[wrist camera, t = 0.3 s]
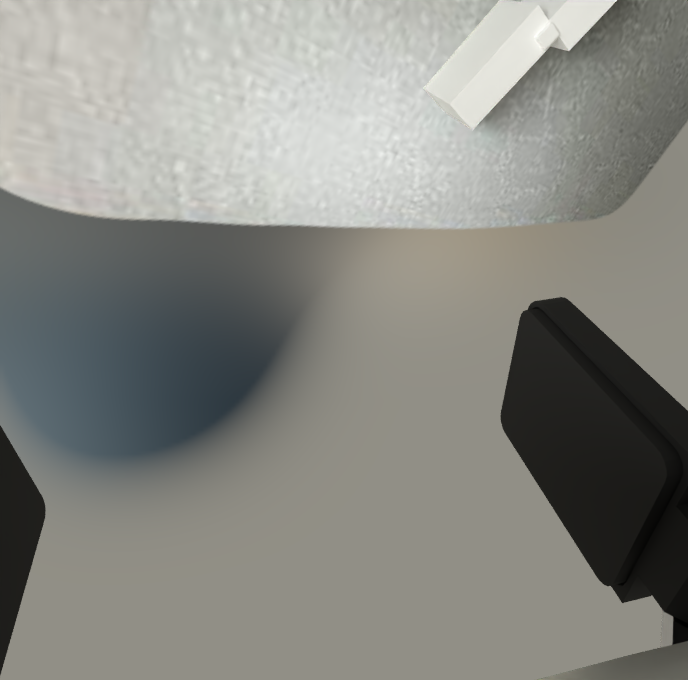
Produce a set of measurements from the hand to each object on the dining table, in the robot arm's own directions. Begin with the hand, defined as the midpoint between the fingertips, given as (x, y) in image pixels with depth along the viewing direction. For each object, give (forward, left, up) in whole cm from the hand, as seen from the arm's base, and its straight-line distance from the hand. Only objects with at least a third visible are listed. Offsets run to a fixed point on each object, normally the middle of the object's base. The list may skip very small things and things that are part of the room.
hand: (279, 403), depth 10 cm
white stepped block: (-2, +19, -30) cm, 36 cm away
